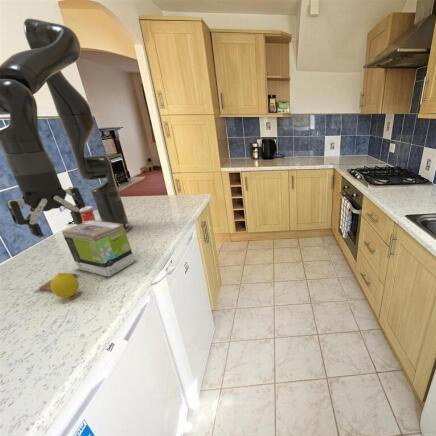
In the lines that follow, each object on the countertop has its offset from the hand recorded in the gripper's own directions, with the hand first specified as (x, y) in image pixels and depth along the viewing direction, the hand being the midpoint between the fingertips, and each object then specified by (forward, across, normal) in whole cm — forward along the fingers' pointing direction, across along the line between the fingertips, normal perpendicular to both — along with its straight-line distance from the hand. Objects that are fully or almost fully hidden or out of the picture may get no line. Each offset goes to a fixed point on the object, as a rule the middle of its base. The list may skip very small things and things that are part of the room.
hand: (60, 230), depth 66 cm
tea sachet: (+19, +2, -10) cm, 21 cm away
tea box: (+19, -10, -6) cm, 22 cm away
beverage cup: (+18, -28, -48) cm, 58 cm away
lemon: (+19, +4, +1) cm, 20 cm away
